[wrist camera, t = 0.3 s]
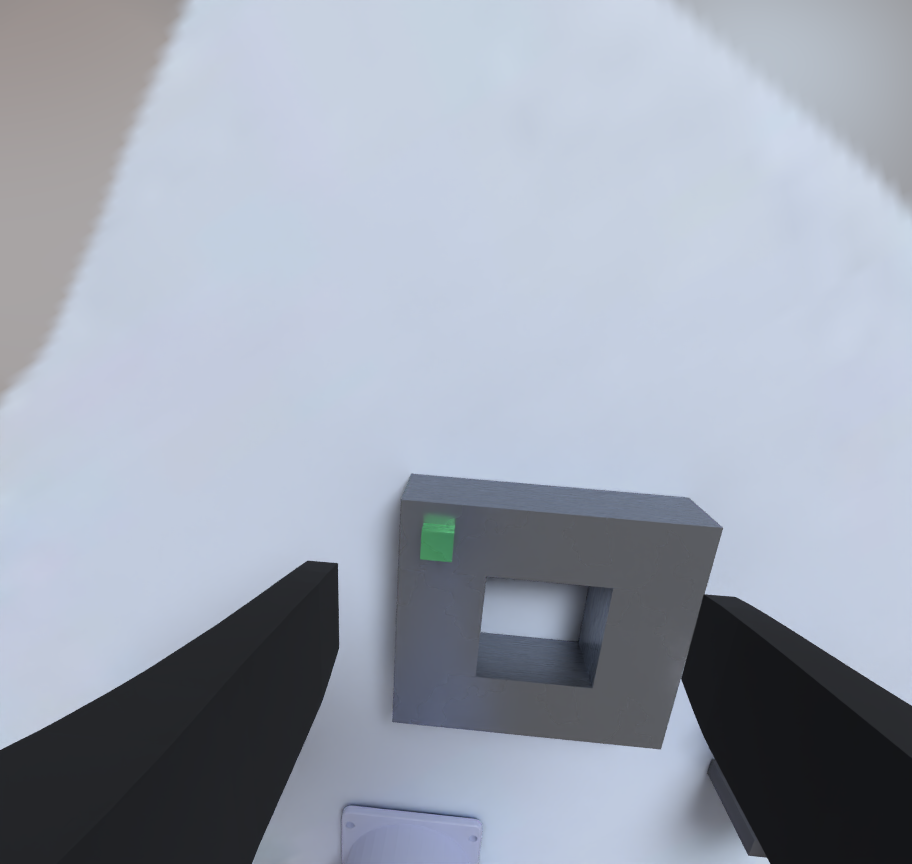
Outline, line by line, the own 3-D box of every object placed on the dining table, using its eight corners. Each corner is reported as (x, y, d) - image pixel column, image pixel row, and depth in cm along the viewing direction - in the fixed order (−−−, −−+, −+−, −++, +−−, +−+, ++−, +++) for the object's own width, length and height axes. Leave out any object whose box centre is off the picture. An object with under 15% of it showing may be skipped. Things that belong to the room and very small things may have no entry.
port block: (639, 697, 21) (666, 763, 18) (402, 674, 21) (389, 734, 18) (688, 497, 18) (732, 536, 15) (411, 473, 18) (398, 506, 15)
